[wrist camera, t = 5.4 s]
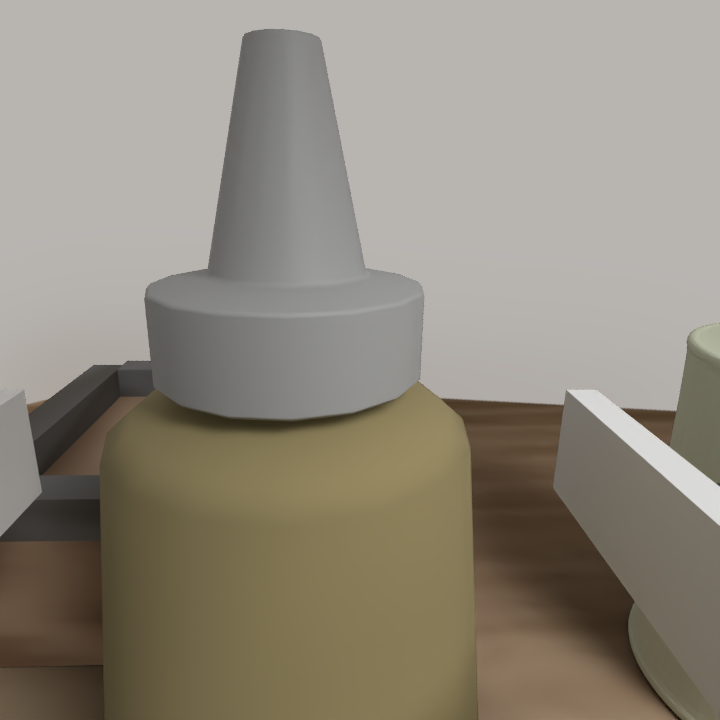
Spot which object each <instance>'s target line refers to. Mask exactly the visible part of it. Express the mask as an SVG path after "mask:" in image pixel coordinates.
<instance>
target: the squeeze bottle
mask: <svg viewBox="0 0 720 720" xmlns="http://www.w3.org/2000/svg"><path fill="white" fill-rule="evenodd" d="M423 308H424V293H423V289H422V286H421V285H420V283H419V282H417V281H415V280H412V279H410V278H407V277H405V276H402V275H400V274H395V273H390V272H384V271H379V270H373V269H366V268H365V265H364V260H363V254H362V249H361V244H360V239H359V234H358V229H357V224H356V218H355V213H354V208H353V203H352V197H351V192H350V188H349V182H348V177H347V172H346V166H345V161H344V156H343V151H342V146H341V141H340V135H339V130H338V125H337V120H336V115H335V110H334V104H333V99H332V94H331V89H330V84H329V79H328V73H327V68H326V63H325V58H324V53H323V48H322V42H321V40H320V38H319V37H317V36H315V35H313V34H310V33H306V32H301V31H294V30H284V29H264V30H257V31H251V32H248V33H246V34H244V36H243V39H242V46H241V52H240V58H239V65H238V71H237V78H236V85H235V92H234V98H233V105H232V111H231V118H230V125H229V132H228V138H227V145H226V152H225V158H224V165H223V172H222V178H221V185H220V191H219V198H218V204H217V211H216V218H215V224H214V232H213V239H212V244H211V251H210V258H209V265H208V269H203V270H198V271H192V272H187V273H182V274H176V275H171V276H168V277H166V278H164V279H161V280H158V281H156V282H153V283H151V284H150V285H149V286H148V287H147V289H146V293H145V309H146V318H147V328H148V338H149V347H150V357H151V367H152V377H153V386H154V388H155V390H154V391H153V392H151V393H150V394H149V395H148V396H147V397H145V398H144V399H143V400H142V401H141V402H139V403H138V404H137V405H136V406H135V407H134V408H132V409H131V410H130V411H129V412H128V413H127V414H126V415H125V416H124V417H123V418H122V419H121V420H120V421H119V422H118V423H116V424H115V425H114V426H113V427H112V428H111V429H110V430H109V431H108V432H107V434H106V438H105V443H104V447H103V452H102V456H101V461H100V465H99V474H100V522H101V571H102V620H103V668H104V717H105V720H478V700H477V664H476V628H475V593H474V557H473V521H472V486H471V450H470V445H469V441H468V437H467V434H466V430H465V426H464V423H463V419H462V418H461V417H460V416H459V415H458V414H457V413H456V412H455V411H453V410H452V409H451V408H450V407H449V406H448V405H447V404H446V403H444V402H443V401H442V400H441V399H440V398H439V397H438V396H436V395H435V394H434V393H432V392H431V391H430V390H429V389H427V388H426V387H425V386H424V385H422V384H421V383H420V382H418V380H420V370H421V350H422V330H423V310H424V309H423Z"/></svg>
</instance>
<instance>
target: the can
mask: <svg viewBox="0 0 720 720" xmlns="http://www.w3.org/2000/svg"><path fill="white" fill-rule="evenodd" d="M670 448H671V449H672V450H674V451H675V452H676V453H678V454H679V455H680V456H681V457H683V458H684V459H685V460H686V461H688V462H689V463H690V464H692V465H693V466H694V467H695V468H697V469H698V470H699V471H700V472H702V473H703V474H704V475H706V476H707V477H708V478H709V479H711V480H712V481H713V482H714V483H720V323H717V324H710V325H706V326H702V327H699V328H697V329H695V330H693V331H692V332H691V333H690V334H689V336H688V338H687V355H686V361H685V367H684V373H683V378H682V384H681V390H680V396H679V401H678V406H677V411H676V416H675V421H674V426H673V432H672V437H671V442H670ZM628 633H629V639H630V644H631V648H632V651H633V654H634V656H635V658H636V661H637V663H638V665H639V667H640V669H641V670H642V672H643V674H644V676H645V677H646V679H647V680H648V682H649V683H650V684H651V686H652V687H653V688H654V690H655V691H656V693H657V694H658V695H659V696H660V697H661V698H662V700H663V701H664V702H665V703H666V704H667V705H668V706H669V707H670V708H671V710H672V711H673V712H674V713H675V714H676V715H677V716H678V717H679V718H680V719H682V720H720V718H718V716H717V715H716V713H715V712H714V711H713V709H712V708H711V706H710V705H709V704H708V702H707V701H706V700H705V698H704V697H703V695H702V694H701V693H700V691H699V690H698V688H697V687H696V686H695V684H694V683H693V681H692V680H691V679H690V677H689V676H688V675H687V673H686V672H685V670H684V669H683V668H682V666H681V665H680V663H679V662H678V661H677V659H676V658H675V657H674V655H673V654H672V652H671V651H670V650H669V648H668V647H667V645H666V644H665V643H664V641H663V640H662V638H661V637H660V636H659V634H658V633H657V632H656V630H655V629H654V627H653V626H652V625H651V623H650V622H649V620H648V619H647V618H646V616H645V615H644V613H643V612H642V611H641V609H640V608H639V607H638V605H637V604H636V602H634V604H633V606H632V609H631V612H630V615H629V621H628Z"/></svg>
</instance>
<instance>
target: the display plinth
mask: <svg viewBox="0 0 720 720" xmlns="http://www.w3.org/2000/svg"><path fill="white" fill-rule="evenodd" d="M154 390H155V388H154V386H153V377H152V367H151V361H127V362H126V363H125V364H123V365H93V366H92V367H91V368H89V369H88V370H87V371H85V372H84V373H83V374H82V375H80V376H79V377H77V378H76V379H75V380H73V381H72V382H71V383H70V384H68V385H67V386H66V387H64V388H63V389H62V390H60V391H59V392H58V393H56V394H55V395H54V396H52V397H51V398H50V399H48V400H47V401H46V402H44V403H43V404H42V405H40V406H39V407H38V408H37V409H35V410H34V411H33V412H31V413H30V414H29V415H28V416H29V421H30V427H31V432H32V438H33V444H34V449H35V455H36V461H37V466H38V472H39V478H40V483H41V489H42V493H41V494H40V495H39V496H38V497H37V498H36V499H35V500H34V501H33V502H32V503H31V505H30V506H29V507H28V508H27V509H26V510H25V511H24V512H23V513H22V514H21V515H20V516H19V517H18V518H17V519H16V520H15V522H14V523H13V524H12V525H11V526H10V527H9V528H8V529H7V530H6V531H5V532H4V533H3V534H2V535H1V536H0V667H34V666H79V665H103V620H102V571H101V522H100V474H99V465H100V461H101V456H102V452H103V447H104V443H105V438H106V434H107V432H108V431H109V430H110V429H111V428H112V427H113V426H114V425H115V424H116V423H118V422H119V421H120V420H121V419H122V418H123V417H124V416H125V415H126V414H127V413H128V412H129V411H130V410H131V409H132V408H134V407H135V406H136V405H137V404H138V403H139V402H141V401H142V400H143V399H144V398H145V397H147V396H148V395H149V394H150V393H151V392H153V391H154Z"/></svg>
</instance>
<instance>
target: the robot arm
mask: <svg viewBox="0 0 720 720" xmlns="http://www.w3.org/2000/svg"><path fill="white" fill-rule="evenodd" d="M553 489H554V490H555V491H556V493H557V494H558V496H559V497H560V498H561V500H562V501H563V502H564V504H565V505H566V507H567V508H568V509H569V511H570V512H571V514H572V515H573V516H574V518H575V519H576V520H577V522H578V523H579V525H580V526H581V527H582V529H583V530H584V532H585V533H586V534H587V536H588V537H589V539H590V540H591V541H592V543H593V544H594V545H595V547H596V548H597V550H598V551H599V552H600V554H601V555H602V557H603V558H604V559H605V561H606V562H607V564H608V565H609V566H610V568H611V569H612V570H613V572H614V573H615V575H616V576H617V577H618V579H619V580H620V582H621V583H622V584H623V586H624V587H625V589H626V590H627V591H628V593H629V594H630V595H631V597H632V598H633V600H634V601H635V602H636V604H637V605H638V607H639V608H640V609H641V611H642V612H643V613H644V615H645V616H646V618H647V619H648V620H649V622H650V623H651V625H652V626H653V627H654V629H655V630H656V632H657V633H658V634H659V636H660V637H661V638H662V640H663V641H664V643H665V644H666V645H667V647H668V648H669V650H670V651H671V652H672V654H673V655H674V657H675V658H676V659H677V661H678V662H679V663H680V665H681V666H682V668H683V669H684V670H685V672H686V673H687V675H688V676H689V677H690V679H691V680H692V681H693V683H694V684H695V686H696V687H697V688H698V690H699V691H700V693H701V694H702V695H703V697H704V698H705V700H706V701H707V702H708V704H709V705H710V706H711V708H712V709H713V711H714V712H715V713H716V715H717V716H718V718H720V483H714V482H713V481H712V480H711V479H709V478H708V477H707V476H706V475H704V474H703V473H702V472H700V471H699V470H698V469H697V468H695V467H694V466H693V465H692V464H690V463H689V462H688V461H686V460H685V459H684V458H683V457H681V456H680V455H679V454H678V453H676V452H675V451H674V450H672V449H671V448H670V447H669V446H667V445H666V444H665V443H664V442H662V441H661V440H660V439H658V438H657V437H656V436H655V435H653V434H652V433H651V432H650V431H648V430H647V429H646V428H644V427H643V426H642V425H641V424H639V423H638V422H637V421H636V420H634V419H633V418H632V417H631V416H629V415H628V414H627V413H625V412H624V411H623V410H622V409H620V408H619V407H618V406H617V405H615V404H614V403H613V402H611V401H610V400H609V399H608V398H606V397H605V396H604V395H603V394H601V393H600V392H599V391H597V390H566V396H565V403H564V409H563V417H562V424H561V431H560V438H559V446H558V453H557V460H556V467H555V475H554V482H553ZM41 493H42V489H41V483H40V478H39V472H38V466H37V461H36V455H35V449H34V444H33V438H32V432H31V427H30V421H29V416H28V410H27V404H26V399H25V393H24V390H0V536H1V535H2V534H3V533H4V532H5V531H6V530H7V529H8V528H9V527H10V526H11V525H12V524H13V523H14V522H15V520H16V519H17V518H18V517H19V516H20V515H21V514H22V513H23V512H24V511H25V510H26V509H27V508H28V507H29V506H30V505H31V503H32V502H33V501H34V500H35V499H36V498H37V497H38V496H39V495H40V494H41Z"/></svg>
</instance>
